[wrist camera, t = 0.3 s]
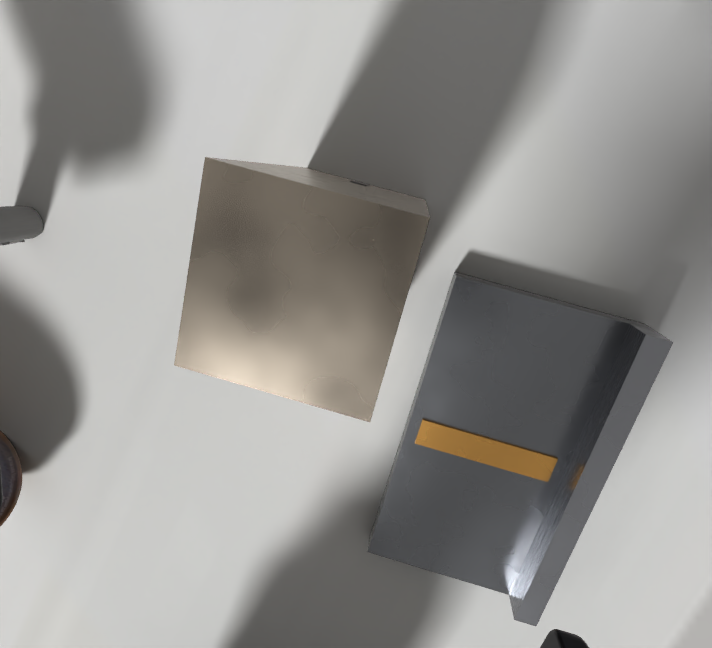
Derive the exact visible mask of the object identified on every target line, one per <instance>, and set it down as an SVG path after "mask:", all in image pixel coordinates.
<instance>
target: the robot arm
mask: <svg viewBox="0 0 712 648" xmlns="http://www.w3.org/2000/svg"><path fill="white" fill-rule="evenodd" d="M2 501H3V492H2V478H1V467H0V508H1V505H2ZM540 648H589V647H588V645H587V644H586V643H585V641H584V640H583V639H582V638H581V637H579V636H577V635H575V634H571V633H568V632H565V631H561V630H558V629H554V630H552V631H550V632H549V634H548V635H547V637H546V639H545V640H544V642H543V644H542V645H541V647H540Z"/></svg>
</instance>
